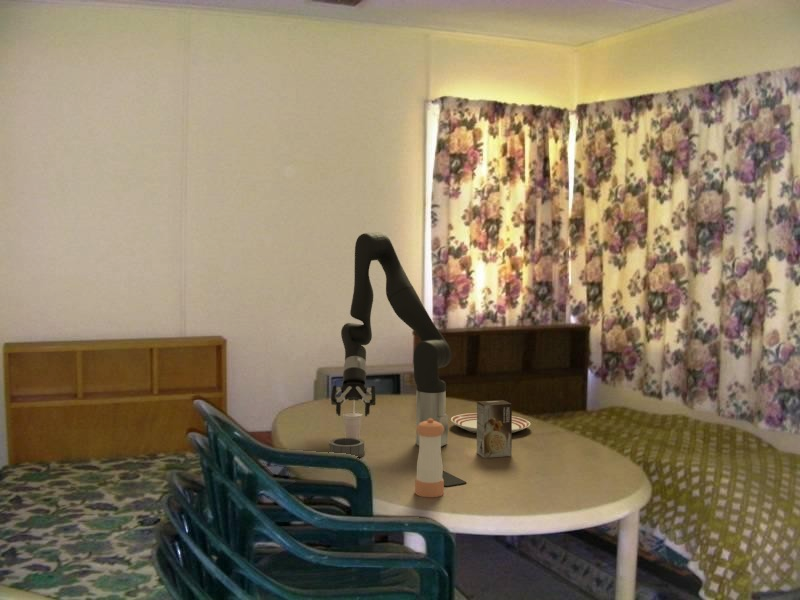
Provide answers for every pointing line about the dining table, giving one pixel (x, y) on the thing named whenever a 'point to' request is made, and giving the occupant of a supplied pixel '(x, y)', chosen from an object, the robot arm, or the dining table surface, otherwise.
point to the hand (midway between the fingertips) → (352, 414)
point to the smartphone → (451, 480)
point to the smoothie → (352, 423)
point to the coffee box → (494, 428)
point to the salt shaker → (429, 460)
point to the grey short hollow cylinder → (347, 446)
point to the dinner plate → (470, 422)
